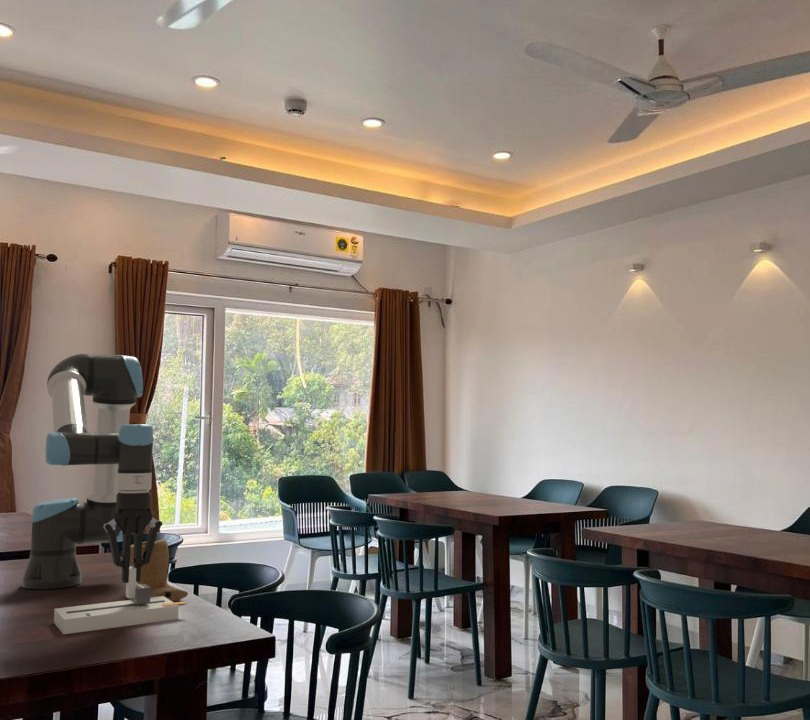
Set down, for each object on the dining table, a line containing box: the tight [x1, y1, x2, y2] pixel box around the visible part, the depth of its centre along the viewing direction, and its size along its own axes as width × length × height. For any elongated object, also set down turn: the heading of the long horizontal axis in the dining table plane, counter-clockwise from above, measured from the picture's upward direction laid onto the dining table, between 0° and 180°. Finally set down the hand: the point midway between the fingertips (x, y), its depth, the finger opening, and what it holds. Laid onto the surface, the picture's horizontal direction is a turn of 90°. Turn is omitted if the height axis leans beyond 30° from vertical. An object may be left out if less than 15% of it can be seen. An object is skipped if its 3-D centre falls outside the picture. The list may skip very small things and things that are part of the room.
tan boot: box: [130, 538, 189, 603], centre depth 193 cm, size 15×12×15 cm
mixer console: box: [53, 596, 187, 635], centre depth 172 cm, size 12×26×3 cm, turn 124°
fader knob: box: [130, 584, 151, 605], centre depth 174 cm, size 5×3×4 cm, turn 34°
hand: (130, 596), depth 173 cm, fingers closed
